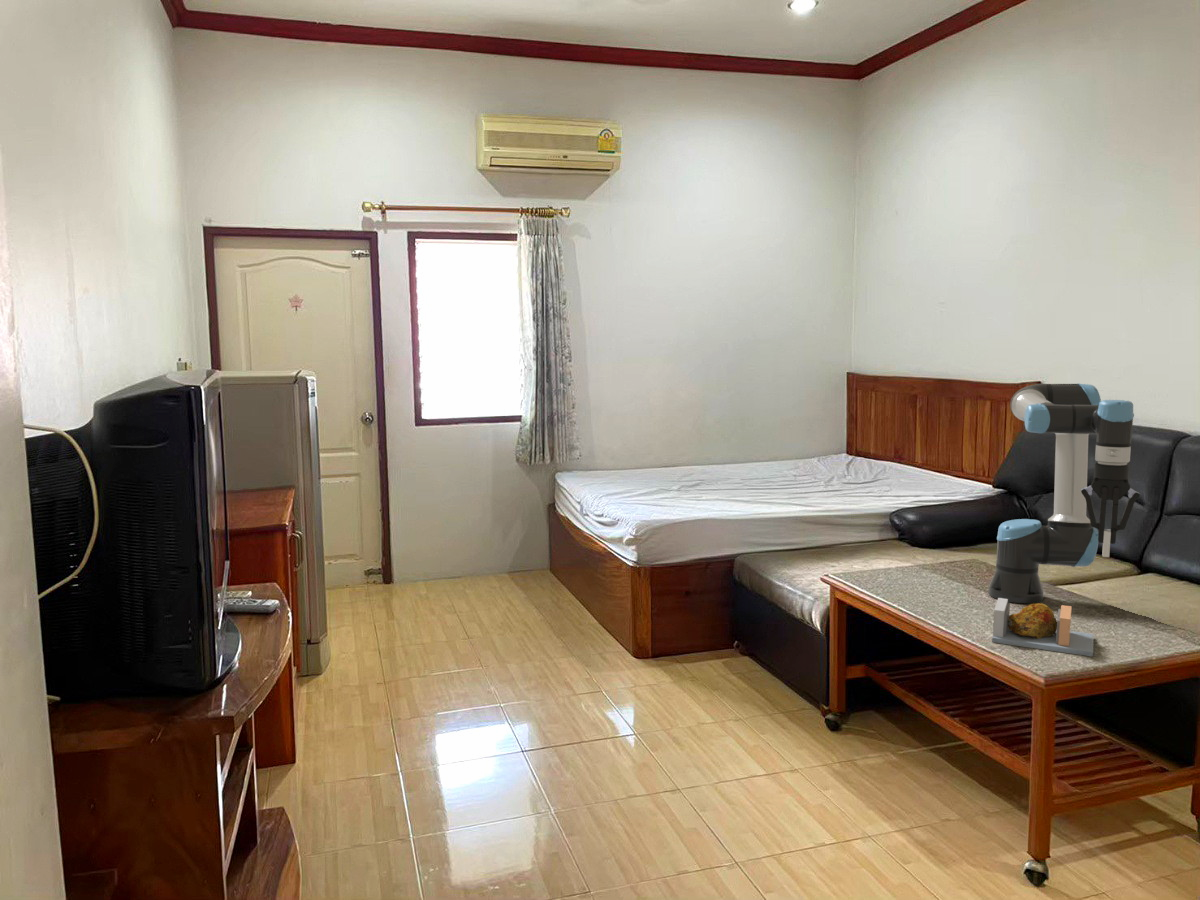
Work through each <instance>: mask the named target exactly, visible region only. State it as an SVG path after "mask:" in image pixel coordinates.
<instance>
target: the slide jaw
mask: <svg viewBox="0 0 1200 900" xmlns="http://www.w3.org/2000/svg"><path fill="white" fill-rule="evenodd" d="M1056 621H1057V632H1056V644H1058V645H1064V646H1069V639H1070V631H1071V623H1072V606H1071V605H1063V604H1062V605H1061V606H1060V608H1058V610H1057V617H1056Z"/></svg>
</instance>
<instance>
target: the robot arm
mask: <svg viewBox="0 0 1200 900" xmlns="http://www.w3.org/2000/svg"><path fill="white" fill-rule="evenodd" d="M1009 405H1010V406H1009V407H1010V410H1011V413H1012V414H1013V416H1015V418H1017V419H1018V420H1020V421H1022V422H1024V427H1025V428H1024V429H1025V430H1026V432H1029V433H1034V434H1035V433H1036V434H1040V435H1041V434H1055V451H1054V452H1055V456H1054V486H1053V487H1054V488H1053V489H1054V491H1053V492H1054V494H1053V514H1052V515H1051V516H1050V517H1049V518H1047V525H1042V522H1041V521H1040V520H1038V519H1035V518H1034V519H1032V518H1031V519H1029V518H1021V519H1020V518H1018V519H1011V520H1010V519H1009V520H1006V521H1004V522H1002V523H1000V525H999V526H998V529H997V530H998V531H997V536H996V540H997V543H996V545H997V547H996V559H995V561H996V563H995V571H994V573H993V576H992V578H991V581H990V582H989V586H988V595H989V596H991V597H992V598H994V599H996V600H998V598H1004V599H1008V603H1016V604H1038V603H1040V602H1042V601H1043V600H1044V589H1043V586H1042V583H1041V578H1040V576H1039V575H1040V574H1039V566H1040V565H1045V566H1046V565H1047V566H1062V567H1063V566H1065V567H1073V568H1076V567H1089V566H1091V565H1092V563H1093V562H1094V560H1095V558H1096V555H1097V552H1098V548H1099V547H1098V546H1099V544H1100V543H1101V544H1102V554H1101V556H1102V557H1103V558H1110V551H1111V545H1112V544H1113V545H1116V543H1117V532H1118V531H1122V530H1123V531H1124V530H1125V529H1126V528H1127V527H1126V526H1127V523H1128V521H1129V518H1130V515H1131V512H1132V510H1133V507H1134V504H1135V502H1136V501H1137V500H1138V499H1139V498H1140V495H1141V494H1140V492H1139V491H1137V490H1134V489H1133V488H1132V487H1131V484H1130V482H1129V477H1130V465H1129V464H1128V463H1129V462H1131V447H1132V436H1133V435H1132V434H1133V424H1134V423H1133V421H1134V418H1135V413H1134V404H1133V402H1132V401H1130V400H1124V399H1102V400H1101V395H1100V392H1099V391H1098V389H1097V387H1096V386H1094V385H1093V384H1088V383H1087V384H1086V383H1036V384H1035V383H1034V384H1031V385H1027V386H1024V387H1022V388H1020V389H1018V390H1017V391H1016V392H1015V393H1014V394H1013V396H1012V397H1011V399H1010V404H1009ZM1089 435H1096V443H1095V453H1094V454H1095V456H1094V460H1095V463H1094V469H1093V480H1092V481H1091V483H1090V485H1089V486H1088V461H1089V460H1088V459H1089ZM1093 491H1094V493H1095V494H1096V495H1097V497H1098V498H1099V499H1100V503H1099V504H1100V506H1099V517H1098V518H1099V519H1098V521H1097V520H1096V519H1097V518H1096V516H1095V515H1096V514H1095V511H1094V505H1093V501H1092V495H1093ZM1126 494H1127V496H1128V500H1127V503H1126V505H1125V509H1124V511H1123V514H1122V516H1121V519H1120V522H1119V523H1118V512H1119V501H1120V500H1121V499H1122V498H1123V497H1124V496H1125V495H1126ZM1109 500H1110V501H1112V503H1111V518H1110V519H1111V520H1110V529H1108V528H1107V529H1106V528H1105V527H1106V511H1107V501H1109ZM1087 512H1088V513H1087ZM1087 514H1088V516H1089V517H1088V516H1087Z"/></svg>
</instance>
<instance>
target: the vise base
mask: <svg viewBox="0 0 1200 900" xmlns="http://www.w3.org/2000/svg"><path fill="white" fill-rule="evenodd" d="M996 600H997V601H996V603H995V606H994V611H993V626H992V627H993V628H992V637H991V642H992V643H996V644H1003V645H1008V646H1009V645H1010V646H1016V647H1018V646H1019V647H1024V648H1032V649H1039V650H1043V651H1044V650H1045V651H1050V652H1051V651H1052V652H1058V653H1059V652H1060V653H1066V654H1073V655H1079V656H1084V657H1085V656H1087V657H1094V633H1088V632H1082V631H1074V630H1070V639H1069V646H1064V645H1058V644H1056V632H1057V630H1056V632H1055V633H1054V634H1053V635H1051V636H1050V637H1042V638H1036V636H1035V637H1032V636H1024V635H1020V634H1016V633H1015V632H1013V631H1011V630H1010V629H1009V627H1008V618H1009V616H1010V614H1011V613H1010V611H1011V610H1010V609H1011V602H1008V599H1004V598H998V599H996Z"/></svg>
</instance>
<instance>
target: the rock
mask: <svg viewBox="0 0 1200 900" xmlns="http://www.w3.org/2000/svg"><path fill="white" fill-rule="evenodd" d="M1008 627H1009V629H1010V630H1011V631H1013V632H1015V633H1016V634H1020V635H1024V636H1032V637H1035V636H1036V638H1042V637H1050V636H1051V635H1053V634H1054V633H1055V632H1056V630H1057V617H1055V614H1054V611H1053V610H1052V609H1051V608H1050V607H1049V606H1048V605H1046V604H1044V603H1042V602H1041V603H1040V602H1037V603H1030V604H1028V605H1027V606H1023V608H1022V609H1021V610H1020V611H1019V612H1018V613H1017V612H1016V613H1012V614H1009V618H1008Z"/></svg>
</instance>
